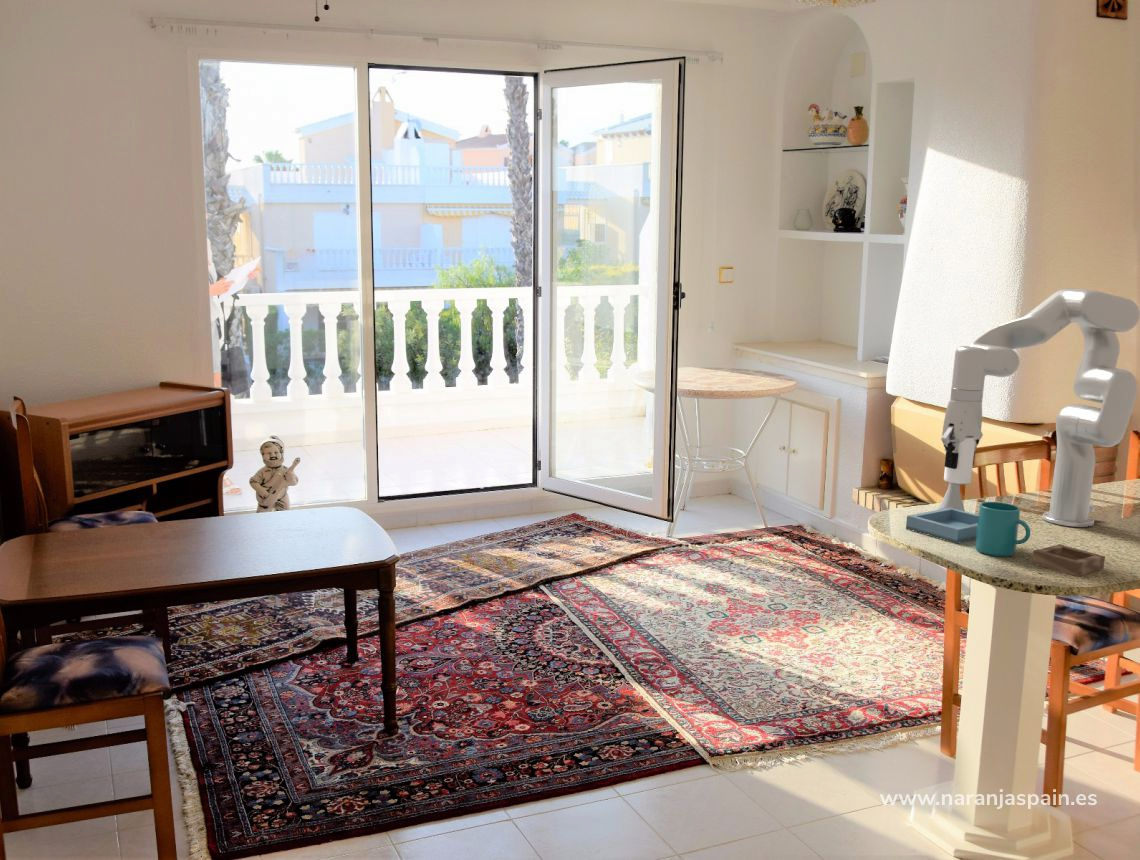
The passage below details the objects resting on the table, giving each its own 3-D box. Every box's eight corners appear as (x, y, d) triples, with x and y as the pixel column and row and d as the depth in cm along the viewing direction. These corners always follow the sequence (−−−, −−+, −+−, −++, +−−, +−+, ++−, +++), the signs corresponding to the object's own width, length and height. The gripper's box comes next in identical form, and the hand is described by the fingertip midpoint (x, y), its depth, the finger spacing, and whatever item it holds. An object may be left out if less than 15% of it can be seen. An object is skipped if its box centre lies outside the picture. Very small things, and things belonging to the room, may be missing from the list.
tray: (948, 520, 285) (950, 507, 284) (999, 534, 273) (1001, 520, 272) (905, 528, 274) (907, 515, 274) (956, 543, 262) (958, 529, 262)
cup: (1021, 562, 248) (1026, 515, 246) (969, 551, 256) (974, 505, 254) (1033, 554, 255) (1038, 508, 253) (982, 544, 263) (986, 499, 261)
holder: (1058, 556, 254) (1059, 544, 254) (1103, 569, 246) (1105, 556, 245) (1032, 563, 248) (1033, 550, 248) (1077, 576, 239) (1079, 563, 239)
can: (966, 486, 267) (971, 438, 265) (940, 481, 271) (944, 435, 268) (974, 482, 272) (979, 435, 270) (948, 478, 276) (953, 432, 274)
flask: (969, 515, 291) (973, 479, 289) (943, 514, 291) (946, 478, 289) (960, 509, 298) (963, 473, 296) (933, 508, 298) (937, 473, 296)
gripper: (974, 392, 275) (966, 460, 279) (932, 395, 265) (925, 466, 269) (1000, 396, 269) (992, 466, 273) (958, 400, 259) (951, 472, 263)
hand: (959, 465), depth 271 cm, fingers closed on can, 6 cm apart
